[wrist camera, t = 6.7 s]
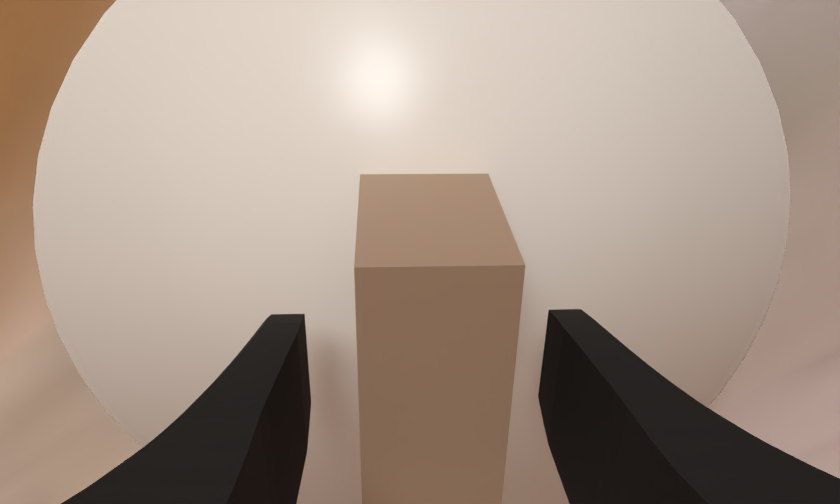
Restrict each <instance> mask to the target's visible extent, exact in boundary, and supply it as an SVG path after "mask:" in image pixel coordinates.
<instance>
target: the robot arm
mask: <svg viewBox="0 0 840 504" xmlns="http://www.w3.org/2000/svg"><path fill="white" fill-rule="evenodd" d="M538 399H539V404H540V409H541V414H542V419H543V423H544V428H545V432H546V437H547V441H548V445H549V448H550V451H551V454H552V457H553V459H554V462H555V465H556V468H557V471H558V473H559V476H560V479H561V482H562V485H563V487H564V490H565V493H566V496H567V498H568V501H569V504H840V479H839V478H837V477H835V476H832V475H830V474H828V473H826V472H824V471H822V470H819V469H817V468H815V467H813V466H811V465H809V464H807V463H805V462H803V461H801V460H799V459H797V458H795V457H793V456H791V455H789V454H787V453H785V452H783V451H781V450H779V449H777V448H775V447H773V446H771V445H769V444H768V443H766V442H764V441H762V440H760V439H759V438H757V437H755V436H753V435H751V434H750V433H748V432H746V431H745V430H743V429H741V428H740V427H738V426H736V425H735V424H733V423H731V422H730V421H728V420H726V419H725V418H723V417H721V416H720V415H718V414H716V413H715V412H713V411H712V410H710V409H709V408H707V407H706V406H704V405H703V404H701V403H700V402H698V401H697V400H695V399H694V398H693V397H691V396H690V395H688V394H687V393H686V392H684V391H683V390H681V389H680V388H679V387H677V386H676V385H674V384H673V383H672V382H670V381H669V380H668V379H666V378H665V377H664V376H662V375H661V374H660V373H658V372H657V371H656V370H655V369H653V368H652V367H651V366H649V365H648V364H647V363H646V362H644V361H643V360H642V359H641V358H639V357H638V356H637V355H636V354H635V353H633V352H632V351H631V350H630V349H628V348H627V347H626V346H625V345H624V344H622V343H621V342H620V341H619V340H618V339H617V338H615V337H614V336H613V335H612V334H611V333H609V332H608V331H607V330H606V329H605V328H604V327H602V326H601V325H600V324H599V323H598V322H597V321H595V320H594V319H593V318H592V317H590V316H589V315H588V314H587V313H585V312H584V311H583V310H582V309H558V310H549V311H548V319H547V328H546V336H545V344H544V352H543V360H542V368H541V376H540V385H539V393H538ZM310 411H311V393H310V380H309V366H308V353H307V340H306V327H305V314H271V315H270V316H269V317H268V318H267V319H266V320H265V321H264V322H263V323H262V325H261V326H260V327H259V329H258V330H257V331H256V332H255V334H254V335H253V336H252V337H251V339H250V340H249V341H248V342H247V344H246V345H245V346H244V347H243V349H242V350H241V351H240V352H239V353H238V355H237V356H236V357H235V358H234V359H233V360H232V362H231V363H230V364H229V365H228V366H227V367H226V368H225V370H224V371H223V372H222V373H221V374H220V375H219V376H218V377H217V379H216V380H215V381H214V382H213V383H212V384H211V385H210V386H209V387H208V388H207V389H206V390H205V391H204V392H203V393H202V394H201V395H200V396H199V397H198V398H197V399H196V400H195V401H194V402H193V403H192V404H191V405H190V406H189V407H188V408H187V409H186V410H185V411H184V412H183V413H182V414H181V415H180V416H179V417H178V418H177V419H176V420H175V421H174V422H173V423H172V424H170V425H169V426H168V427H167V428H166V429H165V430H164V431H163V432H161V433H160V434H159V435H158V436H157V437H155V438H154V439H153V440H152V441H151V442H149V443H148V444H147V445H146V446H144V447H143V448H142V449H141V450H139V451H138V452H137V453H135V454H134V455H133V456H131V457H130V458H128V459H127V460H125V461H124V462H123V463H121V464H120V465H118V466H117V467H116V468H114V469H113V470H111V471H110V472H109V473H107V474H106V475H104V476H103V477H102V478H100V479H99V480H97V481H96V482H95V483H93V484H92V485H90V486H89V487H87V488H86V489H84V490H82V491H81V492H79V493H78V494H76V495H74V496H73V497H71V498H70V499H68V500H66V501H65V502H63V503H62V504H296V503H297V498H298V494H299V489H300V484H301V479H302V474H303V469H304V464H305V459H306V454H307V447H308V436H309V424H310Z"/></svg>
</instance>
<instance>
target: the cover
mask: <svg viewBox="0 0 840 504" xmlns="http://www.w3.org/2000/svg"><path fill="white" fill-rule="evenodd" d="M790 202H791V194H790V178H789V162H788V152H787V147H786V142H785V138H784V133H783V129H782V124H781V120H780V115H779V110H778V107H777V104H776V102H775V99H774V97H773V94H772V91H771V89H770V86H769V84H768V81H767V79H766V76H765V74H764V71H763V68H762V66H761V63H760V61H759V60H758V58H757V56H756V55H755V53H754V51H753V50H752V48H751V46H750V44H749V43H748V41H747V39H746V38H745V36H744V34H743V33H742V31H741V29H740V27H739V26H738V24H737V22H736V21H735V19H734V18H733V17H732V15H731V14H730V13H729V12H728V11H727V9H726V8H725V7H724V6H723V5H722V3H721V2H720V1H719V0H116V2H115V3H114V4H113V5H112V6H111V7H110V8H109V9H108V10H107V11H106V12H105V13H104V15H103V16H102V18H101V19H100V21H99V22H98V24H97V25H96V27H95V28H94V30H93V31H92V33H91V34H90V36H89V37H88V39H87V40H86V42H85V43H84V45H83V46H82V48H81V49H80V51H79V52H78V54H77V55H76V57H75V58H74V60H73V61H72V64H71V66H70V68H69V70H68V72H67V75H66V77H65V79H64V81H63V83H62V86H61V88H60V90H59V92H58V94H57V97H56V99H55V101H54V103H53V105H52V108H51V111H50V114H49V118H48V122H47V125H46V129H45V133H44V136H43V140H42V144H41V147H40V151H39V155H38V161H37V171H36V180H35V189H34V199H33V217H34V237H35V252H36V257H37V262H38V267H39V272H40V277H41V282H42V287H43V292H44V296H45V298H46V301H47V304H48V307H49V309H50V312H51V315H52V318H53V321H54V323H55V326H56V329H57V332H58V334H59V337H60V339H61V340H62V342H63V344H64V346H65V348H66V350H67V352H68V354H69V356H70V357H71V359H72V361H73V363H74V365H75V367H76V369H77V371H78V372H79V374H80V375H81V377H82V378H83V380H84V381H85V382H86V384H87V385H88V387H89V388H90V390H91V391H92V392H93V394H94V395H95V397H96V398H97V399H98V401H99V402H100V404H101V405H102V406H103V408H104V409H105V410H106V411H107V412H108V413H109V414H110V415H111V416H112V417H113V418H114V420H115V421H116V422H117V423H118V424H119V425H120V426H121V427H122V428H123V429H124V430H125V431H126V433H127V434H128V435H129V436H130V437H131V438H132V439H133V440H135V441H136V442H137V443H138V444H139V445H141V446H142V447H144V446H146V445H147V444H148V443H149V442H151V441H152V440H153V439H154V438H155V437H157V436H158V435H159V434H160V433H161V432H163V431H164V430H165V429H166V428H167V427H168V426H169V425H170V424H172V423H173V422H174V421H175V420H176V419H177V418H178V417H179V416H180V415H181V414H182V413H183V412H184V411H185V410H186V409H187V408H188V407H189V406H190V405H191V404H192V403H193V402H194V401H195V400H196V399H197V398H198V397H199V396H200V395H201V394H202V393H203V392H204V391H205V390H206V389H207V388H208V387H209V386H210V385H211V384H212V383H213V382H214V381H215V380H216V379H217V377H218V376H219V375H220V374H221V373H222V372H223V371H224V370H225V368H226V367H227V366H228V365H229V364H230V363H231V362H232V360H233V359H234V358H235V357H236V356H237V355H238V353H239V352H240V351H241V350H242V349H243V347H244V346H245V345H246V344H247V342H248V341H249V340H250V339H251V337H252V336H253V335H254V334H255V332H256V331H257V330H258V329H259V327H260V326H261V325H262V323H263V322H264V321H265V320H266V319H267V318H268V317H269V316H270V315H271V314H305V327H306V340H307V353H308V366H309V380H310V393H311V411H310V424H309V436H308V447H307V454H306V459H305V464H304V469H303V474H302V479H301V484H300V489H299V494H298V498H297V503H296V504H569V501H568V498H567V496H566V493H565V490H564V487H563V485H562V482H561V479H560V476H559V473H558V471H557V468H556V465H555V462H554V459H553V457H552V454H551V451H550V448H549V445H548V441H547V437H546V432H545V428H544V423H543V419H542V414H541V409H540V404H539V399H538V393H539V385H540V376H541V368H542V360H543V352H544V344H545V336H546V328H547V319H548V311H549V310H558V309H582V310H583V311H584V312H585V313H587V314H588V315H589V316H590V317H592V318H593V319H594V320H595V321H597V322H598V323H599V324H600V325H601V326H602V327H604V328H605V329H606V330H607V331H608V332H609V333H611V334H612V335H613V336H614V337H615V338H617V339H618V340H619V341H620V342H621V343H622V344H624V345H625V346H626V347H627V348H628V349H630V350H631V351H632V352H633V353H635V354H636V355H637V356H638V357H639V358H641V359H642V360H643V361H644V362H646V363H647V364H648V365H649V366H651V367H652V368H653V369H655V370H656V371H657V372H658V373H660V374H661V375H662V376H664V377H665V378H666V379H668V380H669V381H670V382H672V383H673V384H674V385H676V386H677V387H679V388H680V389H681V390H683V391H684V392H686V393H687V394H688V395H690V396H691V397H693V398H694V399H695V400H697V401H698V402H700V403H701V404H703V405H704V406H706V407H708V406H709V405H710V404H711V403H712V402H713V400H714V399H715V398H716V397H717V396H718V395H719V394H720V392H721V391H722V390H723V388H724V387H725V385H726V384H727V382H728V381H729V380H730V378H731V377H732V375H733V374H734V372H735V371H736V369H737V368H738V367H739V365H740V364H741V362H742V361H743V359H744V358H745V356H746V354H747V352H748V350H749V348H750V346H751V344H752V342H753V341H754V339H755V337H756V335H757V333H758V331H759V329H760V327H761V325H762V323H763V321H764V318H765V316H766V313H767V310H768V308H769V305H770V302H771V300H772V297H773V294H774V292H775V289H776V287H777V284H778V280H779V275H780V271H781V266H782V262H783V258H784V253H785V249H786V245H787V237H788V225H789V214H790Z"/></svg>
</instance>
